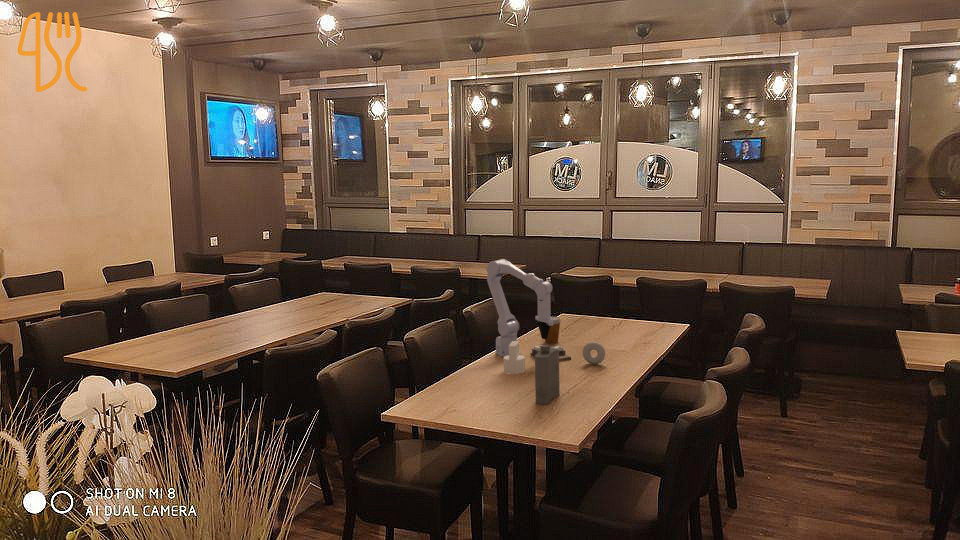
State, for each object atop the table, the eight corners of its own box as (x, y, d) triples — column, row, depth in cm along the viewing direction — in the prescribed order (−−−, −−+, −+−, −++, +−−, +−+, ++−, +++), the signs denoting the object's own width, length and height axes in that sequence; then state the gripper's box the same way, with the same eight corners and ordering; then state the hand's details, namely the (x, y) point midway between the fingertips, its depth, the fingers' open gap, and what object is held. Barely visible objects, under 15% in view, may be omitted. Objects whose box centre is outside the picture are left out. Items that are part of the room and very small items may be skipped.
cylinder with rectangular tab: (523, 374, 303) (522, 346, 301) (502, 374, 304) (501, 345, 303) (526, 368, 311) (526, 341, 310) (505, 368, 313) (505, 341, 312)
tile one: (538, 352, 329) (538, 347, 329) (534, 350, 333) (534, 345, 333) (546, 351, 331) (546, 346, 330) (542, 349, 334) (542, 344, 334)
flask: (547, 392, 277) (546, 340, 274) (561, 394, 274) (560, 342, 272) (531, 403, 264) (530, 349, 261) (546, 405, 261) (545, 351, 259)
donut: (581, 364, 315) (581, 341, 314) (583, 362, 318) (583, 340, 317) (604, 366, 311) (604, 343, 310) (606, 364, 315) (606, 341, 313)
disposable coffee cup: (561, 339, 363) (560, 316, 361) (561, 344, 353) (561, 320, 352) (542, 340, 364) (541, 316, 362) (541, 344, 354) (541, 320, 353)
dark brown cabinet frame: (545, 363, 319) (545, 356, 319) (530, 355, 333) (530, 349, 333) (571, 359, 324) (571, 353, 324) (555, 352, 338) (555, 346, 338)
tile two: (555, 352, 327) (555, 348, 327) (551, 351, 331) (550, 346, 331) (562, 351, 329) (562, 347, 328) (558, 349, 332) (558, 345, 332)
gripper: (559, 310, 319) (559, 341, 320) (545, 305, 332) (545, 334, 334) (545, 312, 316) (545, 342, 318) (530, 306, 330) (531, 335, 331)
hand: (544, 338), depth 326 cm, fingers closed
